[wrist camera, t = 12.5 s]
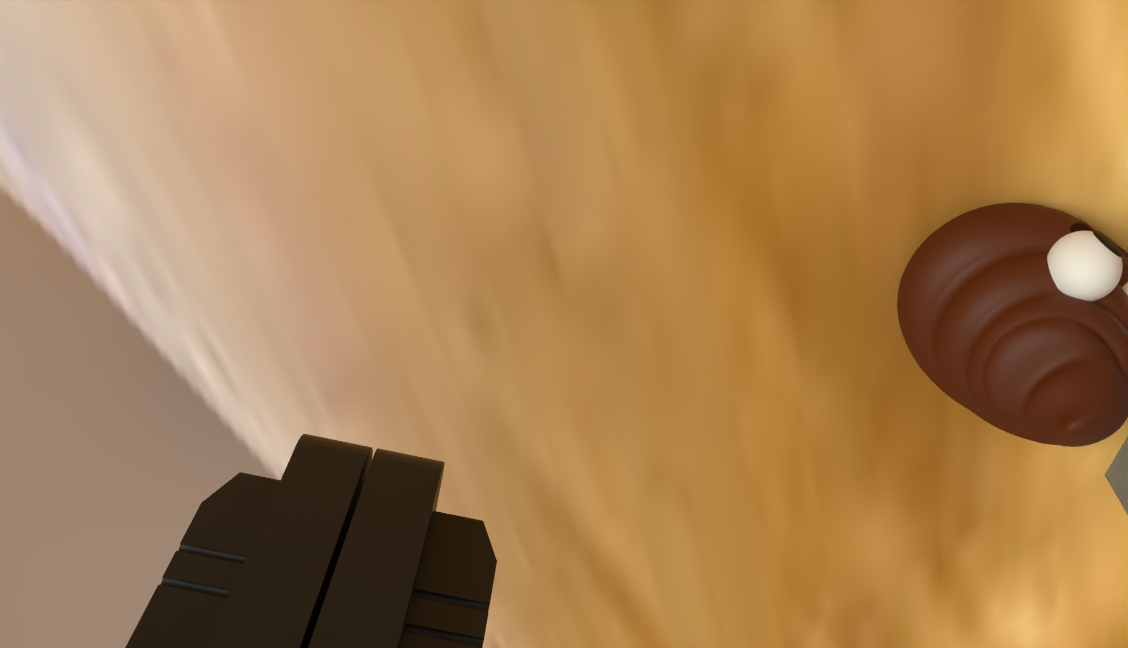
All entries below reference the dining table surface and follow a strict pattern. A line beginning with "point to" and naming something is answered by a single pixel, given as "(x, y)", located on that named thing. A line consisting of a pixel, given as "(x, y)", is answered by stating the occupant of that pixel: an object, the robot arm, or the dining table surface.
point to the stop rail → (1120, 475)
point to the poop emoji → (1023, 321)
